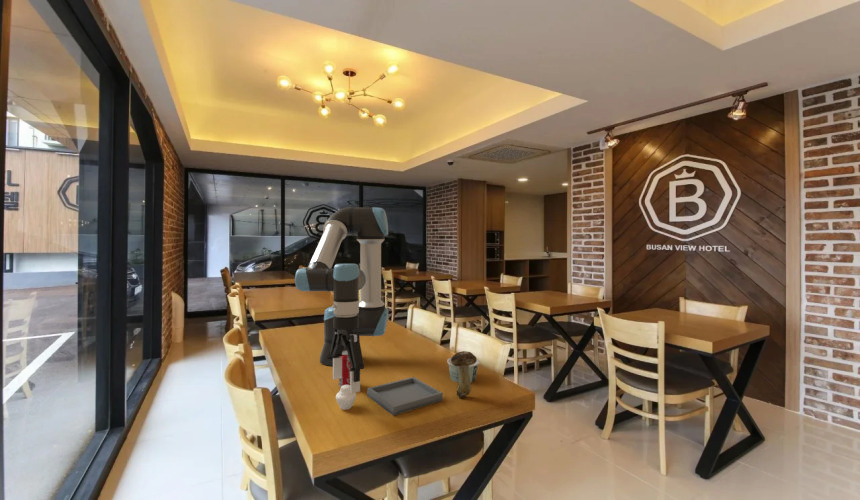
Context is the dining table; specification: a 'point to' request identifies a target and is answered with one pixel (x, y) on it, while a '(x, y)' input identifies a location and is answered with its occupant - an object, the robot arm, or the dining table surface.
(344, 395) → the white swirled dome
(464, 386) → the mushroom
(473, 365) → the food container
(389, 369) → the dining table surface
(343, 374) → the beverage can
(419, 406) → the serving tray
